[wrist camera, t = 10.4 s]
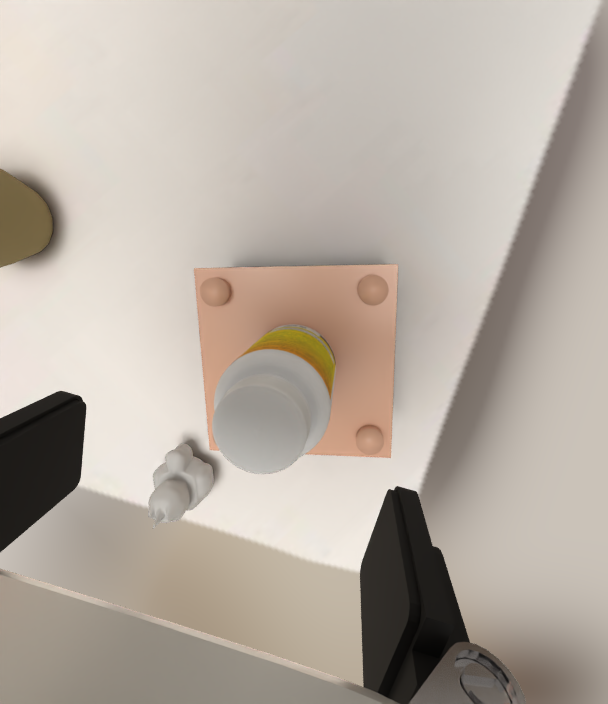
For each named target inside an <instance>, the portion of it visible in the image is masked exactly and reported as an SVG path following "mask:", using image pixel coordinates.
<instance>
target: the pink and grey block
mask: <svg viewBox="0 0 608 704" xmlns="http://www.w3.org/2000/svg"><path fill="white" fill-rule="evenodd" d="M194 275H195V286H196V297H197V309H198V320H199V332H200V343H201V355H202V366H203V377H204V389H205V400H206V412H207V423H208V435H209V446H210V450H218V451H220V450H219V448H218V447H217V445H216V443H215V440H214V436H213V431H212V420H213V415H214V412H215V411H214V396H215V391H216V387H217V384H218V382H219V380H220V378H221V376H222V375H223V373H224V372H225V370H226V369H227V368H228V367H229V366H230V365H231V364H232V363H233V362H234V361H235V360H236V359H237V358H238V357H240V356H241V355H242V354H243V353H244V352H246V351H247V350H248V349H249V348H250V347H251V346H252V345H253V344H255V343H256V342H257V341H258V340H259V339H260V338H262V337H263V336H264V335H265V334H266V333H268V332H269V331H271V330H273V329H275V328H277V327H279V326H283V325H289V324H296V325H302V326H306V327H309V328H311V329H313V330H315V331H317V332H318V333H319V334H321V335H322V336H323V337H324V338H325V339H326V340H327V342H328V343H329V345H330V346H331V348H332V351H333V353H334V356H335V361H336V374H335V382H334V390H333V398H332V405H331V414H330V420H329V423H328V426H327V429H326V431H325V433H324V435H323V437H322V438H321V440H320V441H319V442H318V444H317V445H316V446H315V447H314V448H313V449H311V450H310V451H309V452H307V453H306V454H313V455H337V456H361V457H385V458H391V439H392V413H393V387H394V361H395V334H396V308H397V282H398V264H368V265H319V266H270V267H224V268H194Z"/></svg>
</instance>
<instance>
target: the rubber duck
mask: <svg viewBox="0 0 608 704" xmlns="http://www.w3.org/2000/svg"><path fill="white" fill-rule="evenodd" d="M165 459H166V462H165V463H163V464H162V465H161V466H159V467H158V468H157V469H156V470H155V472H154V473H153V481H154V487H155V490H154V492H153V493H152V494H151V496H150V499H149V512H148V516H149V517H150V518H153V519H154V520H155V521H154V525H153V528H155V527H156V526H157V525H158V524H159V523H160V522H163V523H168V522H171V521H172V522H174V521H178V520H179V519H180V518H181V517H182V516H183V514H184V513H185V511H186V510H192V509H194V508H195V507H196V506H197V505H198V504H199V503H200V502H201V501H202V500H203V498H205V497H206V496H207V495H208V494H209V492H210V491H211V488H212V486H213V482H214V477H213V469H212V466H211V465H210V464H208V463H204V462H203V461H202V460H201V459H199V458H196V457H193V452H192V449H191V447H190V446H189V445H187V444H180V445H179V446H178V447H177V448H176V449H175V450H172V451H170V452H168V453H167V454H166V456H165Z"/></svg>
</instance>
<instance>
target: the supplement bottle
mask: <svg viewBox="0 0 608 704" xmlns="http://www.w3.org/2000/svg"><path fill="white" fill-rule="evenodd" d="M335 374H336V361H335V356H334V353H333V351H332V348H331V346H330V345H329V343H328V342H327V340H326V339H325V338H324V337H323V336H322V335H321V334H319V333H318V332H317V331H315V330H313V329H311V328H309V327H306V326H302V325H296V324H289V325H283V326H279V327H277V328H275V329H273V330H271V331H269V332H268V333H266V334H265V335H264V336H263V337H262V338H260V339H259V340H258V341H257V342H256V343H255V344H253V345H252V346H251V347H250V348H249V349H248V350H247V351H246V352H244V353H243V354H242V355H241V356H240V357H238V358H237V359H236V360H235V361H234V362H233V363H232V364H231V365H230V366H229V367H228V368H227V369H226V370H225V372H224V373H223V375H222V376H221V378H220V380H219V382H218V384H217V387H216V391H215V396H214V411H215V412H214V415H213V420H212V431H213V436H214V440H215V443H216V445H217V447H218V448H219V450H220V452H221V453H222V454H223V456H224V457H225V458H226V459H227V460H228V461H229V462H231V463H232V464H233V465H235V466H236V467H238V468H240V469H242V470H245V471H247V472H251V473H256V474H270V473H275V472H279V471H281V470H284V469H285V468H287V467H289V466H290V465H292V464H293V463H294V462H295V461H296V460H297V459H298V458H299V457H301V456H303V455H304V454H306V453H307V452H309V451H310V450H311V449H313V448H314V447H315V446H316V445H317V444H318V442H319V441H320V440H321V438H322V437H323V435H324V433H325V431H326V429H327V426H328V423H329V420H330V414H331V405H332V398H333V390H334V382H335Z"/></svg>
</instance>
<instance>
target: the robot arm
mask: <svg viewBox="0 0 608 704" xmlns="http://www.w3.org/2000/svg"><path fill="white" fill-rule="evenodd" d="M85 418H86V404H85V403H84V402H83V400H82V398H81V397H80V396H78V395H74V394H71V393H67V392H64V391H59V392H56V393H54V394H52V395H50V396H47V397H45V398H43V399H41V400H39V401H37V402H35V403H32V404H30V405H28V406H26V407H24V408H22V409H20V410H17V411H15V412H13V413H11V414H9V415H7V416H5V417H2V418H0V552H1V551H2V550H4V549H5V548H6V547H7V546H8V545H9V544H11V543H12V542H13V541H14V540H15V539H16V538H18V537H19V536H20V535H21V534H22V533H24V532H25V531H26V530H27V529H28V528H29V527H31V526H32V525H33V524H34V523H35V522H36V521H37V520H39V519H40V518H41V517H42V516H44V515H45V514H46V513H47V512H48V511H49V510H51V509H52V508H53V507H54V506H55V505H56V504H57V503H59V502H60V501H61V500H62V499H64V498H65V497H66V496H67V495H68V494H69V493H70V492H72V491H73V490H74V489H75V488H76V487H77V485H78V483H79V481H80V478H81V467H82V455H83V442H84V430H85ZM360 588H361V619H362V651H363V681H364V682H363V683H364V687H362V686H359V685H356V684H354V683H351V682H349V681H347V680H344V679H342V678H339V677H336V676H333V675H330V674H327V673H324V672H322V671H318V670H316V669H313V668H310V667H307V666H304V665H301V664H298V663H295V662H292V661H289V660H287V659H284V658H281V657H278V656H275V655H272V654H269V653H266V652H263V651H259V650H256V649H253V648H250V647H247V646H244V645H241V644H238V643H235V642H232V641H228V640H225V639H222V638H219V637H216V636H213V635H210V634H207V633H203V632H200V631H197V630H194V629H191V628H188V627H185V626H182V625H179V624H176V623H172V622H169V621H166V620H163V619H160V618H157V617H153V616H150V615H147V614H144V613H141V612H138V611H134V610H131V609H128V608H125V607H121V606H118V605H115V604H112V603H109V602H106V601H103V600H99V599H96V598H93V597H90V596H87V595H84V594H80V593H77V592H74V591H71V590H68V589H64V588H61V587H58V586H55V585H51V584H48V583H45V582H41V581H39V580H35V579H32V578H29V577H26V576H22V575H19V574H16V573H13V572H9V571H6V570H3V569H0V704H526V701H525V697H524V695H523V693H522V690H521V688H520V686H519V684H518V682H517V681H516V679H515V678H514V676H513V675H512V673H511V672H510V671H509V669H508V668H507V667H506V666H505V665H504V664H503V663H502V662H501V661H500V660H499V659H498V658H497V657H496V656H494V655H493V654H491V653H490V652H489V651H488V650H486V649H484V648H482V647H480V646H478V645H477V644H473V643H470V642H469V638H468V635H467V632H466V628H465V625H464V622H463V619H462V616H461V612H460V609H459V606H458V603H457V600H456V597H455V593H454V590H453V586H452V583H451V580H450V577H449V574H448V570H447V567H446V564H445V561H444V557H443V555H442V552H441V550H440V549H439V548H437V547H433V546H432V543H431V539H430V536H429V532H428V529H427V525H426V522H425V518H424V514H423V511H422V508H421V504H420V500H419V497H418V494H417V492H416V491H412V490H409V489H405V488H402V487H398V486H397V487H396V488H395V489H394V490H390V489H389V490H388V491H387V494H386V496H385V499H384V502H383V505H382V507H381V510H380V513H379V516H378V519H377V521H376V524H375V527H374V530H373V533H372V535H371V538H370V541H369V544H368V546H367V549H366V552H365V555H364V558H363V561H362V564H361V570H360Z"/></svg>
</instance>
